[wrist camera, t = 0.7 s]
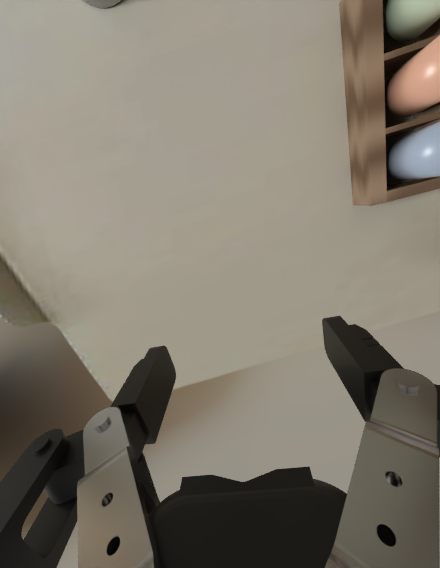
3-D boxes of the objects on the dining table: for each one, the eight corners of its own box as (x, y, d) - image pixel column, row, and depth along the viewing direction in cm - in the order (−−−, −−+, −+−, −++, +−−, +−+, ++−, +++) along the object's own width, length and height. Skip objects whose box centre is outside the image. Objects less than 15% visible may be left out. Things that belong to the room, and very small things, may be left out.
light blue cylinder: (386, 140, 27) (425, 124, 22) (434, 126, 26) (487, 105, 21) (387, 185, 29) (424, 181, 23) (432, 173, 28) (481, 166, 22)
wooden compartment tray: (339, 4, 26) (361, -38, 22) (433, -33, 25) (479, -87, 20) (353, 204, 34) (372, 205, 29) (426, 185, 32) (459, 183, 28)
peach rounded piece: (385, 69, 25) (428, 31, 19) (437, 51, 24) (498, 6, 19) (386, 123, 27) (426, 102, 21) (435, 108, 26) (490, 82, 20)
